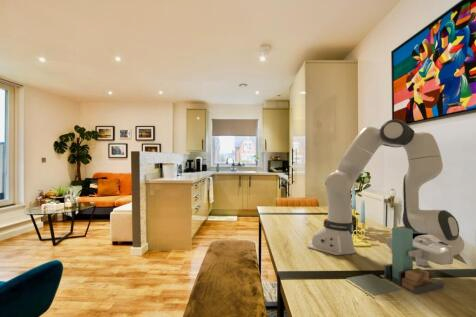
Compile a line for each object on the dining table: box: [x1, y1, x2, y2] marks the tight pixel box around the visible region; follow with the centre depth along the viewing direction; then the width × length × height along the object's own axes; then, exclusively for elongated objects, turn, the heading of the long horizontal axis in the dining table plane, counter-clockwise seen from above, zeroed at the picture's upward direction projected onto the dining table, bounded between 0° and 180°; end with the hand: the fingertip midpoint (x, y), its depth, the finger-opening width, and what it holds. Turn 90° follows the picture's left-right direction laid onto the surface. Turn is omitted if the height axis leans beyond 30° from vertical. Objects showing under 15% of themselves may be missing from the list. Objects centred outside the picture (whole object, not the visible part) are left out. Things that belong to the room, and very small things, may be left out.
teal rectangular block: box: [391, 226, 414, 280], centre depth 88 cm, size 5×4×18 cm
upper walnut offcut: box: [405, 267, 430, 284], centre depth 82 cm, size 7×4×2 cm, turn 114°
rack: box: [379, 263, 445, 295], centre depth 86 cm, size 13×14×5 cm
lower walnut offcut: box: [402, 278, 434, 291], centre depth 82 cm, size 9×4×2 cm, turn 108°
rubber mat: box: [345, 273, 403, 300], centre depth 84 cm, size 12×12×1 cm
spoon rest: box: [387, 245, 429, 268], centre depth 111 cm, size 24×12×7 cm, turn 171°
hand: (400, 250), depth 88 cm, fingers closed on teal rectangular block, 4 cm apart
